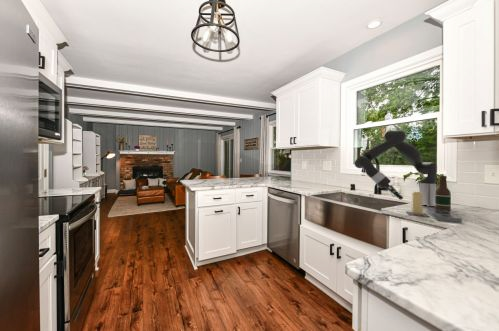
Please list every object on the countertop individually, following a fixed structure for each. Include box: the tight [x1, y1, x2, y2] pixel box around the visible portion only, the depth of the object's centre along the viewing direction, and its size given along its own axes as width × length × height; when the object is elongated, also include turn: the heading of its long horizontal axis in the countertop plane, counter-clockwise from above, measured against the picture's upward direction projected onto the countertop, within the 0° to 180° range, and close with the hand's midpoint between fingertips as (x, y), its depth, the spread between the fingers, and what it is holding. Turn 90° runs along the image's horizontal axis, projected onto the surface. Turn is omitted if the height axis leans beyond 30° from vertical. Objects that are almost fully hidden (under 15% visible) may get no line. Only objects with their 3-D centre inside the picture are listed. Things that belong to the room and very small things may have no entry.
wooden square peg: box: [411, 191, 423, 215], centre depth 135 cm, size 5×5×14 cm
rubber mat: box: [406, 211, 430, 218], centre depth 135 cm, size 10×10×1 cm
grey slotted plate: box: [425, 207, 463, 224], centre depth 129 cm, size 26×10×2 cm, turn 151°
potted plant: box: [434, 175, 452, 212], centre depth 144 cm, size 8×8×24 cm
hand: (400, 198), depth 138 cm, fingers open, 8 cm apart
